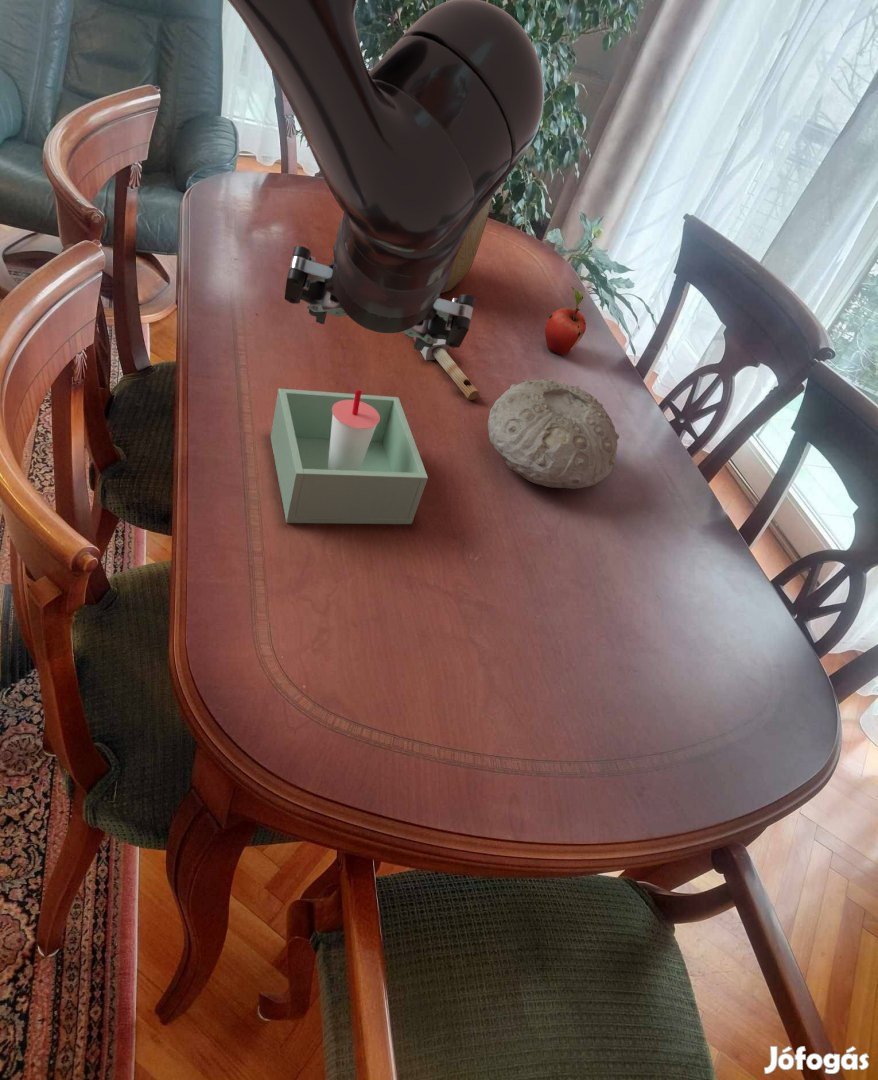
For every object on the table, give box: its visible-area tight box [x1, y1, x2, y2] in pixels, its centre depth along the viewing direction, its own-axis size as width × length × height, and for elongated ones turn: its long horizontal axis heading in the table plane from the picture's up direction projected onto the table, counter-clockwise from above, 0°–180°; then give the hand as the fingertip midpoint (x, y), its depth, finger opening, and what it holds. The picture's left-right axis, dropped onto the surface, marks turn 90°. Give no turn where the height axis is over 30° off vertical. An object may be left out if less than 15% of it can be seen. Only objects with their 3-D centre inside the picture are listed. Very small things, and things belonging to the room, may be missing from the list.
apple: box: [544, 286, 587, 356], centre depth 127 cm, size 8×7×10 cm
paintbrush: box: [412, 337, 480, 401], centre depth 117 cm, size 4×3×20 cm
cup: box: [328, 389, 380, 471], centre depth 88 cm, size 5×5×12 cm
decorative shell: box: [487, 378, 620, 490], centre depth 103 cm, size 18×18×10 cm
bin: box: [270, 387, 429, 525], centre depth 90 cm, size 15×15×7 cm
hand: (371, 325), depth 67 cm, fingers open, 8 cm apart
